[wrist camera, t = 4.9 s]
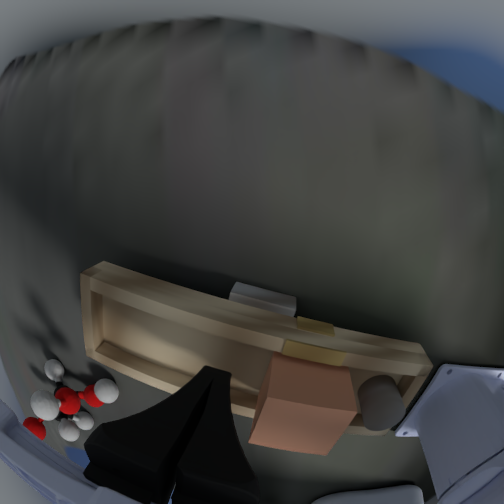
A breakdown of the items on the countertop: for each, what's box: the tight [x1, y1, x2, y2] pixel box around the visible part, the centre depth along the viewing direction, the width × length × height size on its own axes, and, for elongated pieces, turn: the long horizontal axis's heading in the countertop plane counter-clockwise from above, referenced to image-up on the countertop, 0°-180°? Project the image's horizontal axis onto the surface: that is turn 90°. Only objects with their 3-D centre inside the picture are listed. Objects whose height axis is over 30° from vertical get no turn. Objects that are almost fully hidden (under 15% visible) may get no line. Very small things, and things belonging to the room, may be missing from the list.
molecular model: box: [23, 359, 119, 441], centre depth 18 cm, size 16×8×10 cm, turn 143°
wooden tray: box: [80, 261, 433, 436], centre depth 15 cm, size 20×7×5 cm, turn 77°
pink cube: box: [248, 351, 358, 455], centre depth 12 cm, size 4×4×4 cm
